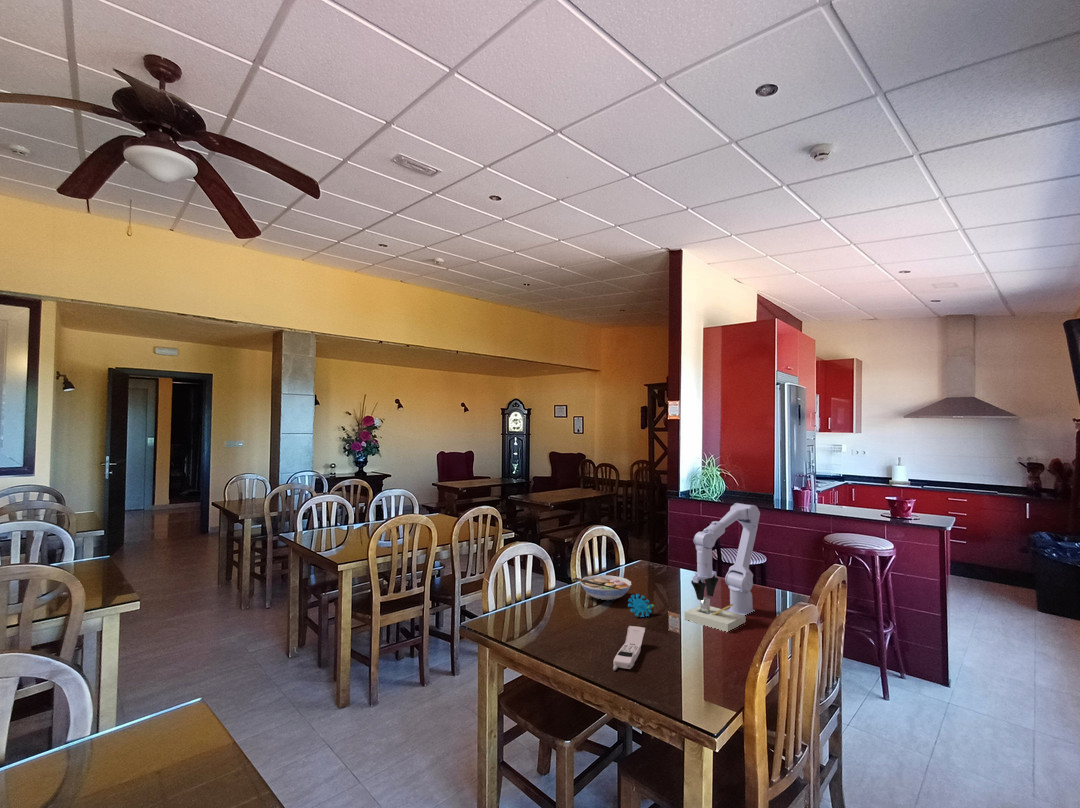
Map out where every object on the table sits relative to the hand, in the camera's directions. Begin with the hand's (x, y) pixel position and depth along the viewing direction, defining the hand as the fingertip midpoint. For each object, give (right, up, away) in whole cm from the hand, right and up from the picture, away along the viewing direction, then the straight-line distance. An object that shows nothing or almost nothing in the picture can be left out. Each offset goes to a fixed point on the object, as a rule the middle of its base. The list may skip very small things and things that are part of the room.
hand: (705, 597), depth 203 cm
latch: (+5, -2, -6) cm, 8 cm away
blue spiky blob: (-25, -9, +4) cm, 27 cm away
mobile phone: (-36, -6, -36) cm, 52 cm away
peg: (0, -8, -1) cm, 8 cm away
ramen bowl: (-36, -10, +25) cm, 45 cm away
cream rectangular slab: (+3, -8, -4) cm, 9 cm away
